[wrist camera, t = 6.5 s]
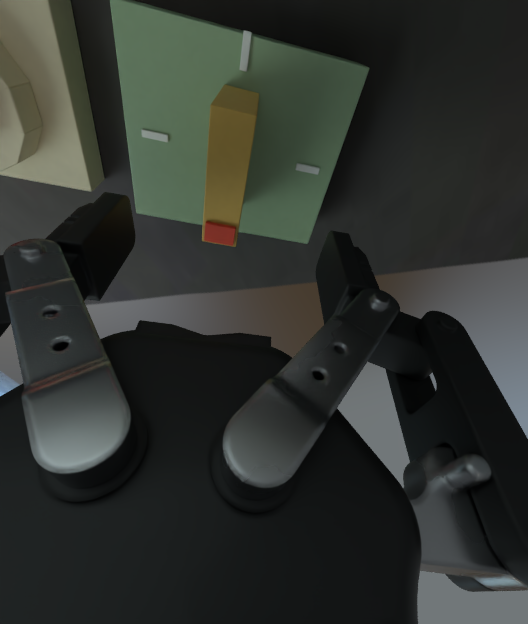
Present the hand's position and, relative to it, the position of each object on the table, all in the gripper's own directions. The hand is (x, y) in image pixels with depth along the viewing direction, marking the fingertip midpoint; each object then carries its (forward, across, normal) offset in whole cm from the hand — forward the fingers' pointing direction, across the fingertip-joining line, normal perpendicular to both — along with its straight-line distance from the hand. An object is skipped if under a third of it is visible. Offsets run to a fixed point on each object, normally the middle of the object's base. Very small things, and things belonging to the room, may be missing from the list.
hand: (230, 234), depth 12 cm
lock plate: (+11, +1, -1) cm, 11 cm away
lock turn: (+8, +1, -1) cm, 8 cm away
